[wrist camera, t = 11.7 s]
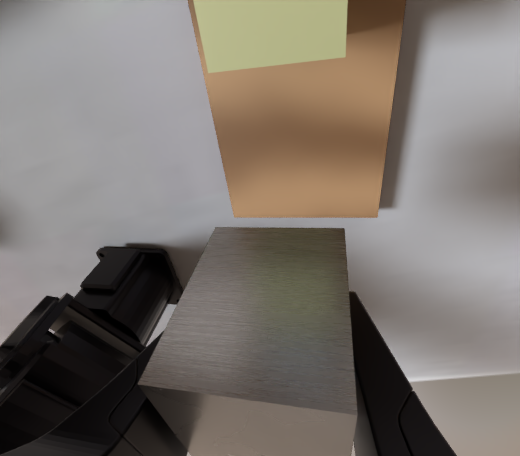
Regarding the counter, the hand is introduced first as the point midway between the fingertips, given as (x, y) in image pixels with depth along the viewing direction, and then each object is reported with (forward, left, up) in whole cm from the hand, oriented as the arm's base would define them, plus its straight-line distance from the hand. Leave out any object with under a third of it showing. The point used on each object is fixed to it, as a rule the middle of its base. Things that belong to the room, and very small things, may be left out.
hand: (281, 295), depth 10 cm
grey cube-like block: (0, 0, 0) cm, 0 cm away
